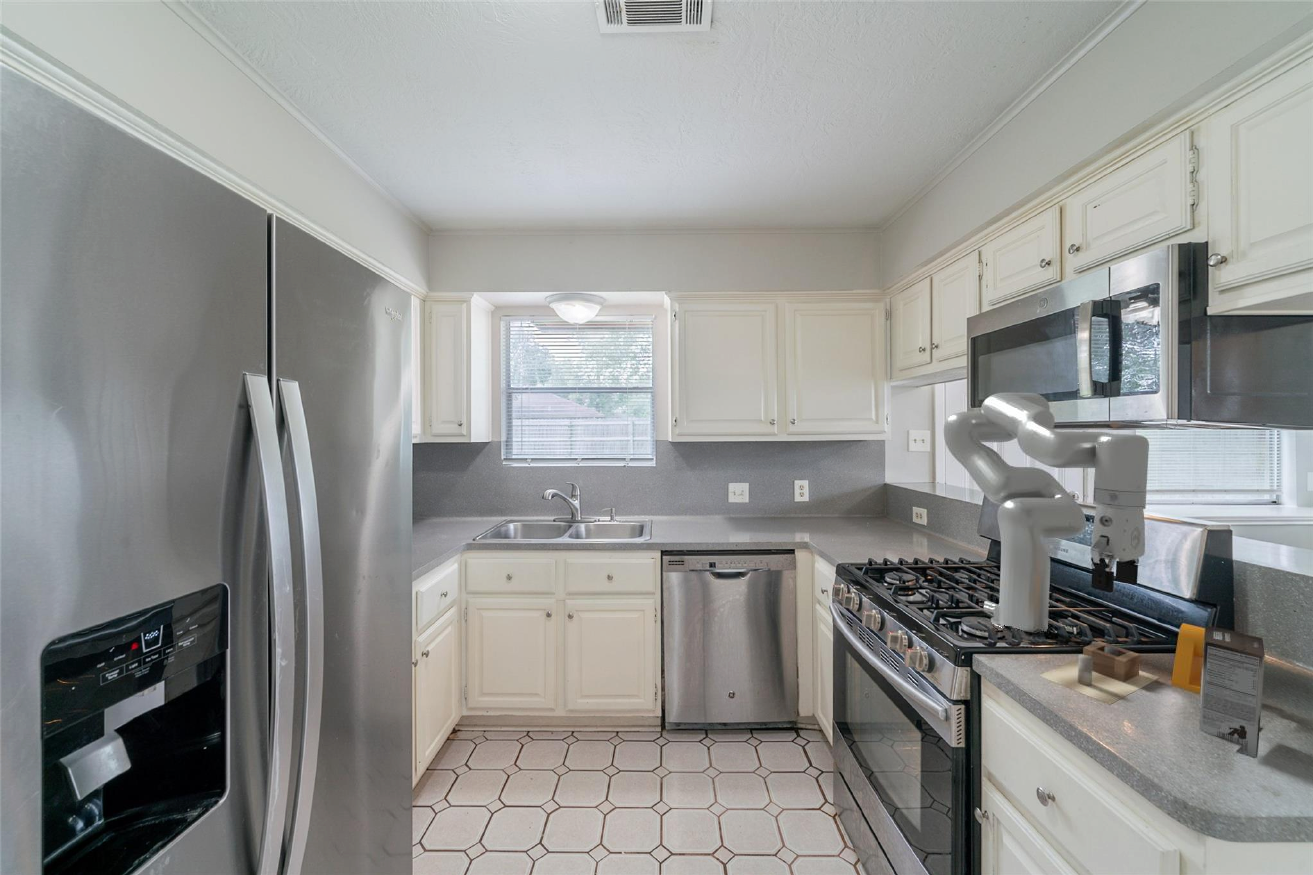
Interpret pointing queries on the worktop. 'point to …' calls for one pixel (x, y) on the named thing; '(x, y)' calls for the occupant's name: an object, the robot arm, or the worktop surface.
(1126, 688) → the board
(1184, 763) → the worktop surface
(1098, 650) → the collar
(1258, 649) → the coffee box
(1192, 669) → the bracket
